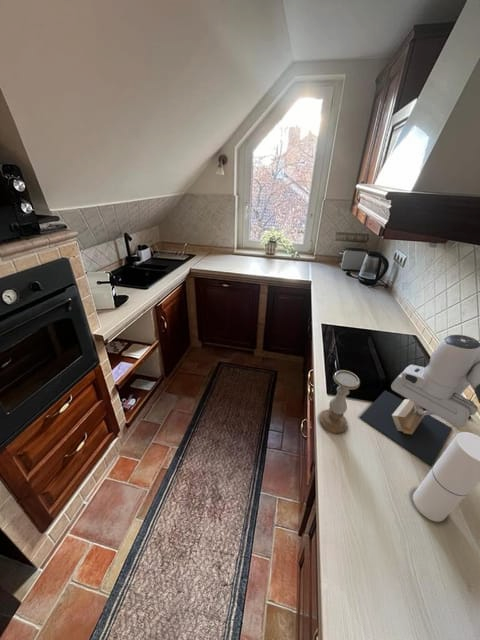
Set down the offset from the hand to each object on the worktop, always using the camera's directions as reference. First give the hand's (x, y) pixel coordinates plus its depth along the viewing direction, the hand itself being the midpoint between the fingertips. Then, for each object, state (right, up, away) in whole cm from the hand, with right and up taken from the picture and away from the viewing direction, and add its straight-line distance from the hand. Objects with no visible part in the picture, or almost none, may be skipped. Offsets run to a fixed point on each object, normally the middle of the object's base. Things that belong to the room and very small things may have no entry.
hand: (418, 414), depth 82 cm
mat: (-1, -5, +5) cm, 7 cm away
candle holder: (-26, -4, +5) cm, 27 cm away
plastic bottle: (+16, -2, +11) cm, 20 cm away
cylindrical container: (-9, -17, -16) cm, 26 cm away
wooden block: (0, -4, +3) cm, 5 cm away
